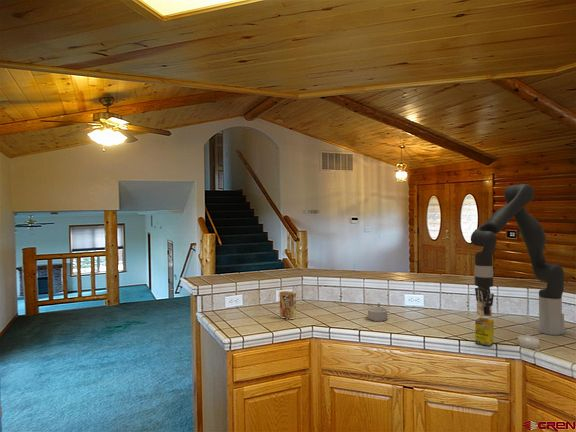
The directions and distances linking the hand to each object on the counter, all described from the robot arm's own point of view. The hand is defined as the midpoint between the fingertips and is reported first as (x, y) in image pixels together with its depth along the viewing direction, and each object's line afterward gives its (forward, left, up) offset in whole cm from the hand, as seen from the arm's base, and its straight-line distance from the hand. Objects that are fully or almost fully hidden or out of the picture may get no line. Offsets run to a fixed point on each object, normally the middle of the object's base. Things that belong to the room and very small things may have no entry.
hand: (484, 313), depth 174 cm
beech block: (0, 0, -1) cm, 1 cm away
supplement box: (0, 0, -14) cm, 14 cm away
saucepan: (+40, -44, -14) cm, 61 cm away
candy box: (+91, -41, -14) cm, 101 cm away
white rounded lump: (-18, +2, -14) cm, 23 cm away
